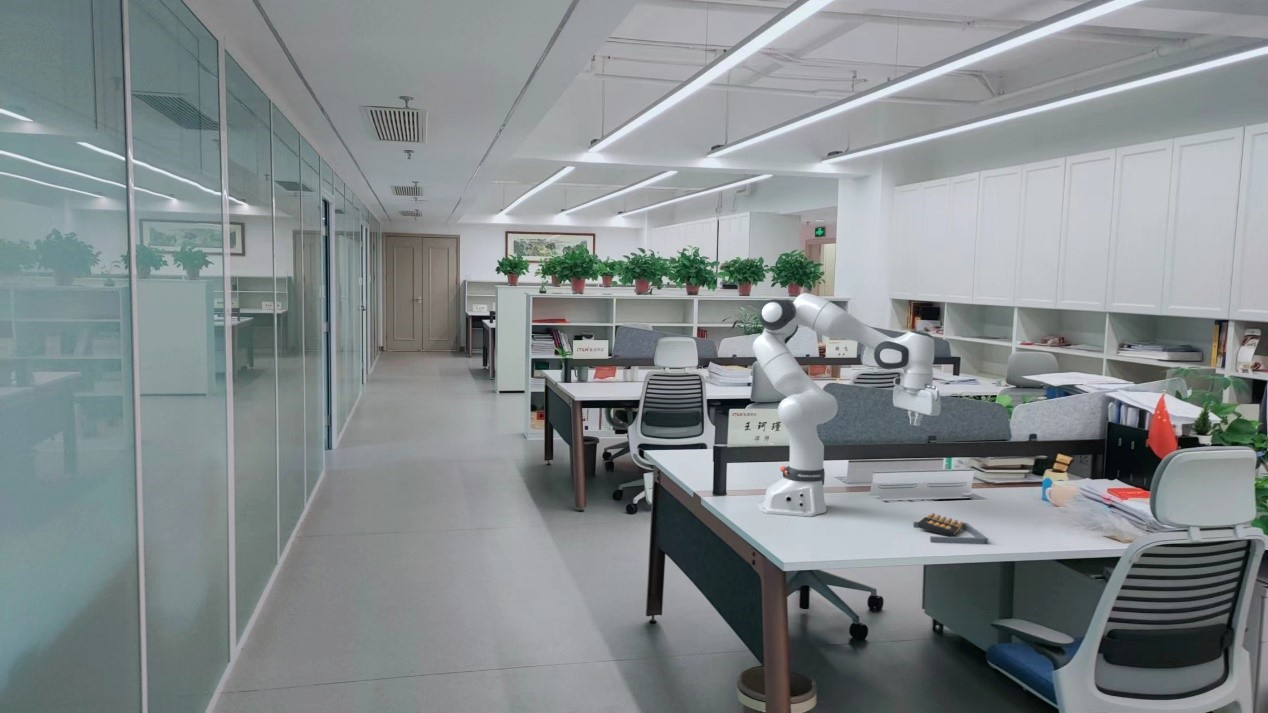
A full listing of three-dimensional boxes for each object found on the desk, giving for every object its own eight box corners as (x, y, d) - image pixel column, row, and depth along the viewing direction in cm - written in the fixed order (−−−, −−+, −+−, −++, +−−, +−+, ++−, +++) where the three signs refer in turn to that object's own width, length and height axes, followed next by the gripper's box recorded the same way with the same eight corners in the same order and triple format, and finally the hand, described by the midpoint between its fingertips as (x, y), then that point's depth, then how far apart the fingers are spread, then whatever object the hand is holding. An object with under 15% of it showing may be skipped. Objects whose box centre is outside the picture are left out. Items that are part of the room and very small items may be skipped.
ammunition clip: (953, 538, 257) (965, 525, 266) (954, 532, 256) (966, 520, 265) (917, 527, 263) (931, 515, 272) (918, 521, 262) (932, 510, 272)
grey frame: (930, 543, 251) (931, 537, 251) (913, 527, 268) (913, 521, 268) (987, 544, 250) (988, 538, 250) (966, 528, 267) (966, 522, 267)
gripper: (947, 386, 264) (944, 431, 265) (907, 378, 283) (904, 419, 284) (929, 386, 262) (926, 431, 263) (890, 378, 281) (887, 420, 283)
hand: (914, 425), depth 274 cm, fingers closed
